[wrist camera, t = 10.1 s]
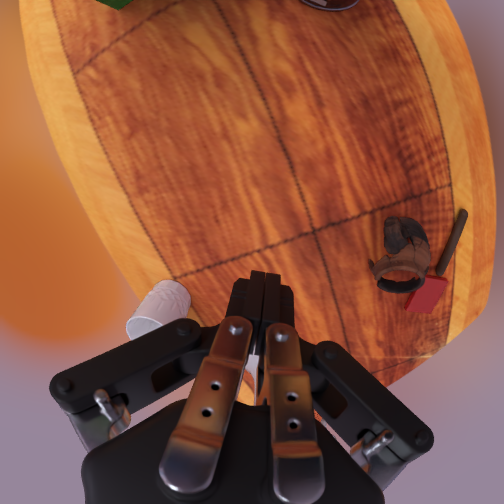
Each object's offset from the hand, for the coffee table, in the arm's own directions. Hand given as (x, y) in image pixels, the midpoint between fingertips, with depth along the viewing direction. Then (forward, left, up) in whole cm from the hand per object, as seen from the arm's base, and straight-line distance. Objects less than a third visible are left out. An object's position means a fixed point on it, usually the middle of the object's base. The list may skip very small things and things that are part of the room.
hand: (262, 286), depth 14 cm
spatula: (+6, +29, -22) cm, 37 cm away
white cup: (+21, -13, -22) cm, 33 cm away
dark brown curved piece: (+4, +19, -22) cm, 29 cm away
